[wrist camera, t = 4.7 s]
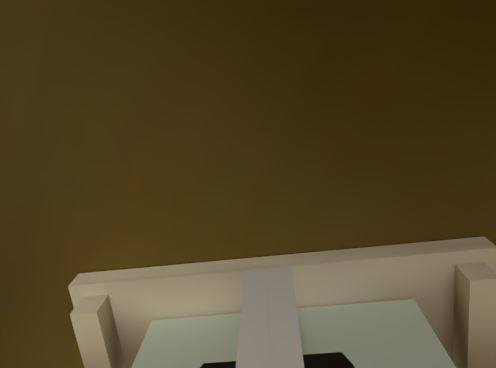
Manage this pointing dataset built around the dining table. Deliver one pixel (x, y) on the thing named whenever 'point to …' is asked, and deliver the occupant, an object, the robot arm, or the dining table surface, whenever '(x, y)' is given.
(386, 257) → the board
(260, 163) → the dining table surface
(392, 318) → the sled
